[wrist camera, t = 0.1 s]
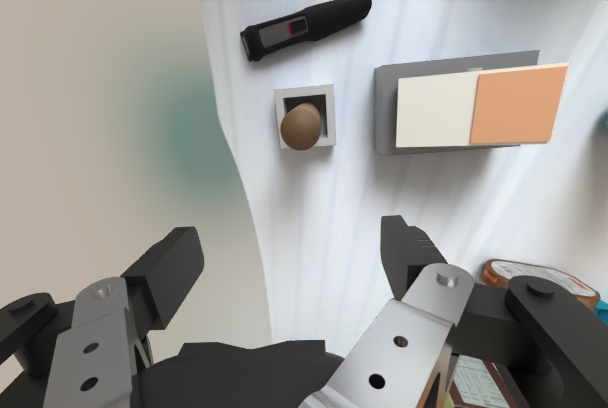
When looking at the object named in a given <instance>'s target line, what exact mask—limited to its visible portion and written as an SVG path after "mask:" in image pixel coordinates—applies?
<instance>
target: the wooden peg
mask: <svg viewBox="0 0 608 408" xmlns="http://www.w3.org/2000/svg"><path fill="white" fill-rule="evenodd" d="M280 133H281V137H282V139H283V141H284V142H285V143H286V145H288V146H289V147H290V148H292V149H295V150H306V149H309V148H311V147H312V146H314V145H315V144H316V142H317V141H318V139H319V137H320V133H321V122H320V111H319V109H318V107H317V106H316V105H315V104H313V103H311V102H303V103H301V104H299V105H298V106H297V107H295V108H294V109H293V110H291V111H290V112H288V113H287V114H286V115H285V116H284V118H283V120H282V122H281V125H280Z"/></svg>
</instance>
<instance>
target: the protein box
mask: <svg viewBox="0 0 608 408" xmlns="http://www.w3.org/2000/svg"><path fill="white" fill-rule="evenodd" d="M443 408H518V406H517V404H516V402H515V400H514V399H513V397H512V395H511V393H510V392H509V390H508V388H507V386H506V384H505V383H504V381H503V380H502V378H501V377H500V375H499V373H498V372H497V370H496V369H495V367H494V366H493V364H492V362H488V361H484V360H480V359H476V358H472V357H468V356H464V355H462V356H461V359H460V362H459V365H458V367H457V370H456V373H455V376H454V379H453V381H452V384H451V387H450V390H449V393H448V395H447V398H446V401H445V404H444V407H443Z"/></svg>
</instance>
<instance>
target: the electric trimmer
mask: <svg viewBox="0 0 608 408" xmlns="http://www.w3.org/2000/svg"><path fill="white" fill-rule="evenodd" d="M371 6H372V0H333V1H329V2H325V3H321V4H317V5H314V6H310V7H307V8H305V9H304V10H302V11H299V12H297V13H294V14H291V15H288V16H285V17H281V18H278V19H274V20H271V21H267V22H264V23H261V24H257V25H253V26H248V27H247V28H246V29H245V31H242V32H241V33H240V35H241V39H242V42H243V45H244V48H245V51H246V54H247V57H248V60H249V61H253V60H254V61H255V62H256V61H259V60H260V59H261V58H262V57H263V56H265V55H267V54H270V53H272V52H275V51H277V50H280V49H282V48H285V47H288V46H291V45H294V44H298V43H301V42H305V41H318V40H320V39H323V38H325V37H327V36H329V35H331V34H333V33H336V32H338V31H340V30H342V29H344V28H346V27H348V26H351V25H353V24H355V23H357V22H359V21H361V20H363V19H364V18H366V16H367V15H368V13H369V11H370V9H371Z"/></svg>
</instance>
